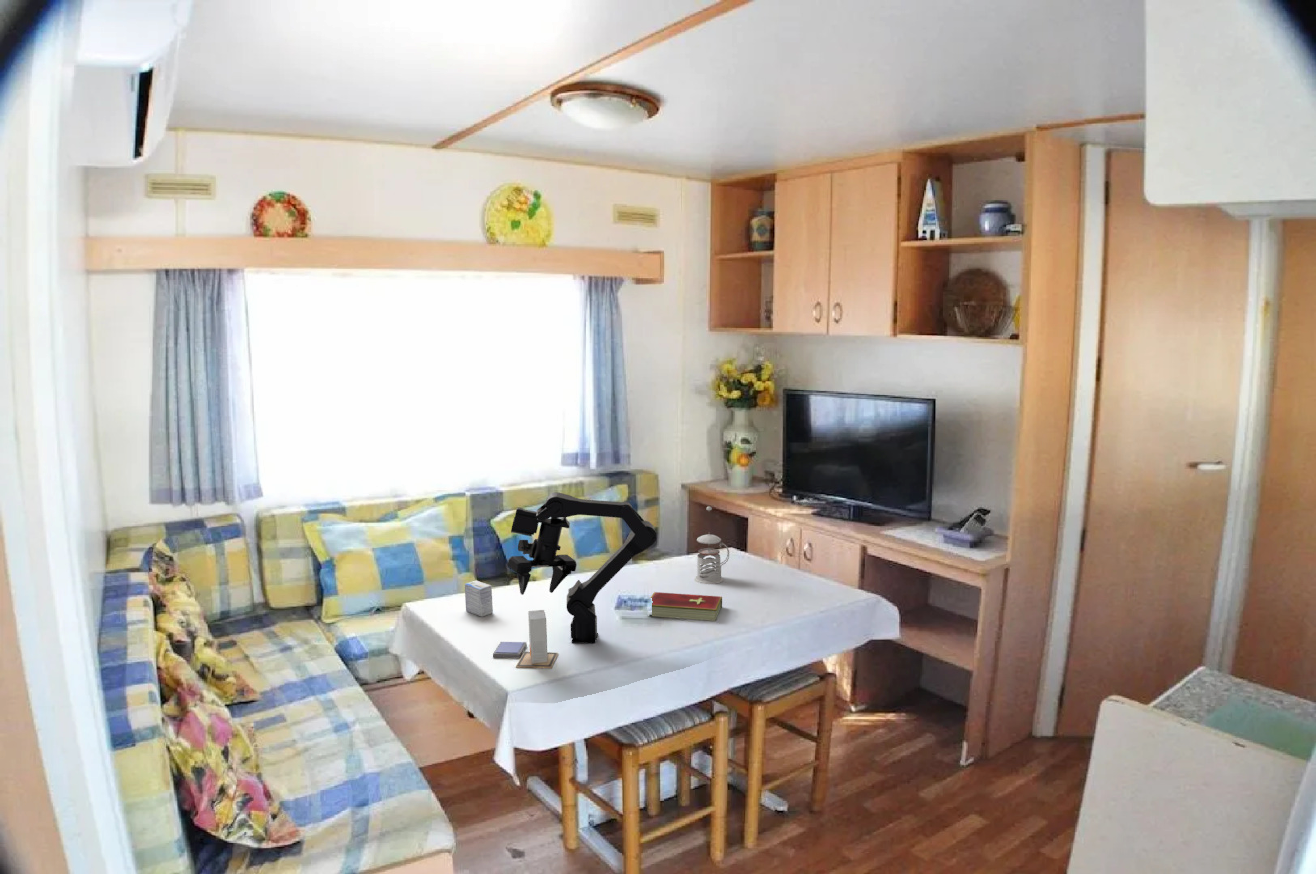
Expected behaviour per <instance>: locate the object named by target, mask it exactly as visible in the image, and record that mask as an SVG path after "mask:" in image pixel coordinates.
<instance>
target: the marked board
mask: <svg viewBox="0 0 1316 874" xmlns="http://www.w3.org/2000/svg"><path fill="white" fill-rule="evenodd" d="M547 655H548V662H544V663H535V664H532V662H531V656H530V651H523V653H522V655H521V656H520V658H519V660H518V662H517V664H516V665H515V668H517V669H552V668H553V665H554V664H555V661H556V659H557V657H558V655H559V652H548V651H547Z"/></svg>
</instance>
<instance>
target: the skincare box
mask: <svg viewBox="0 0 1316 874" xmlns="http://www.w3.org/2000/svg"><path fill="white" fill-rule="evenodd" d="M527 614H528V637H529V638H528V639H529V652H530V656H531V662H532V664H535V663H544V662H548V655H547V652H548V634H547V633H548V632H547V631H548V629H547V617H546V612H545V609H539V610H529V611H528V612H527Z"/></svg>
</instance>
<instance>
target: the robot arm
mask: <svg viewBox="0 0 1316 874" xmlns="http://www.w3.org/2000/svg"><path fill="white" fill-rule="evenodd" d="M580 515H581V516H590V517H591V516H592V517H603V518H604V517H605V518H620V519H622V520H623V522H625V524H626V525H627V526H628V527H629V529H630V530H631V531H630V532H629V534H628V536H627V538H626V539H625V541H624V543H623V544H622V545H621V546H620V547H619V548H618V549H617V550H616V551H615V552H614V553H613V554H612V556H610V557H609V558H608V559H607V560H606V561H605V562H604V563H603V564H602V565H601V567H600V568H598V569H597V570H596V571H595V573H593V574H592V575H591V576H590V578H589V579H587V580H585V581H584V582H581V581H580V579H577V581H576V582H575V584H574V585H573V586H571V587H570V588H568V590H567V591H568V593H567V595H566V610H567V612H568V613H569V615H571V616H573V617H572V620H571V623H570V639H571V643H572V644H596V642H597V640H598V637H599V632H598V616H597V613H596V605H595V604H594V603H593V602H594V601H595V599H596V597H597V595H598V593H599V592H600V591H601V590H602V589H603V588H604V587H605V586H606V585H607V584H608V583H609V582H610V581H611V580H613V578H614V577H615V576H616V575H617V574H618V573H619V572H620V571H621V570H622V569H623V568H624V567H626V565H627V564H628V563H629V562H630V561H631V559H633V557H635V556H637V555H639V554H641V553H642V552H645V551H646V550H648V549H649V548H650V547H652V546H654V544H655V543H656V541H657V532H656V530H655V528H654V525H653V524H652V523H651V522H650V521H647V520H644V519H643V517H642V516H641V515H640V513H638V512H637V511H636V510H635V509H634V508H633V506H632V504H631V503H629V502H628V501H609V500H597V499H595V500H594V499H585V498H584V499H583V498H578V497H576V496H572V495H569V494H567V493H566V494H565V493H562V492H558V491H556V492H552V493H550V494H549V495H548V496H547V497H546V500H545V502H544V503H543V504H542V505H541V506H540V507H538V508H537V509H536V511H535V510H529V509H525V508H522V507H516V511H515V516H514V517H513V521H512V525H511V530H510V532H511V533H512V534H517V535H521V536H528V537H532V535H533V536H534V534H537V532H538V537H537V538H534V539H533V542H529V540H528V539H519V540H518V545H517V551H518V552H522V555H513V556H510V557H509V559H508V562H507V567H509V568H510V569H511V570H512V571H513V572H515V573H516V576H517V579H518V586H519V587H518V588H519V593H520V595H522V596H523V595H524V594H525V592H526V590H527V588H528V584H529V582H530V578H531V574H530V573H531V571H532V568H552V575H551V581H550V583H549V590H548V591H549V592H550V593H551V594H553V593H554V591H555V590H556V589H558V586H559V585H560V584H561V583H562V582H563V581H564V580H565V579H566V577H568V576H569V575H571V574H572V572H576V569H577V566H578V565H577V560H575V559H574V558H572V557H571V556H570V555H568V554H557V552H558V551H561V547H562V546H560V545H559V542H560V538H561V533H562V529H563V528H566V529H570V524H571V523H570V521H569V520H568V519H567V518H569V517H573V516H580ZM539 523H540V527H539ZM538 527H539V531H538ZM523 555H528V557H529V558H530V559H528V558H526V557H525V556H523ZM531 559H532V560H531Z"/></svg>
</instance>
